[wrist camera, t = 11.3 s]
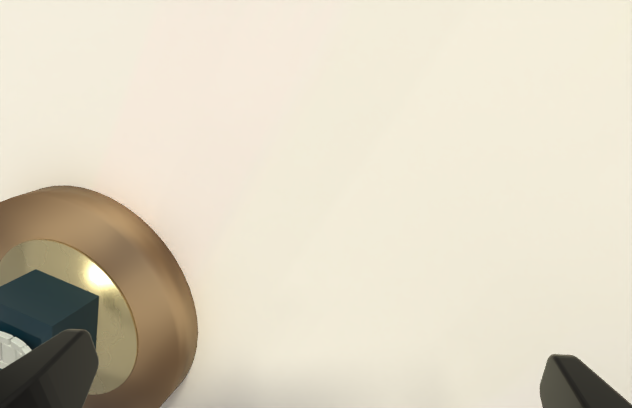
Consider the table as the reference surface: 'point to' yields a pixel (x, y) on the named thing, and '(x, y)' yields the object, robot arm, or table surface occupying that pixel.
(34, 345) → the watch
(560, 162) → the table surface
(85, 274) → the round dish
